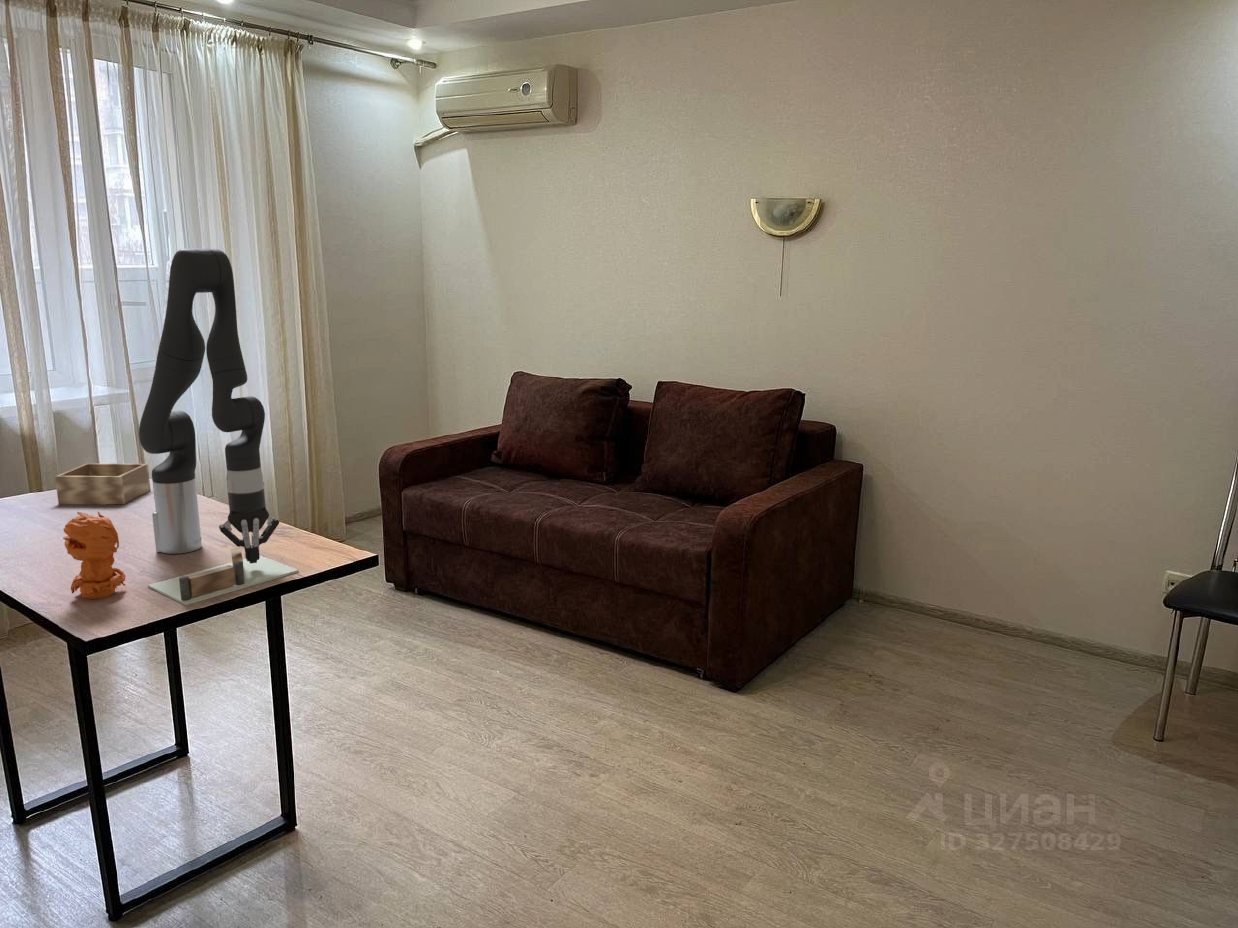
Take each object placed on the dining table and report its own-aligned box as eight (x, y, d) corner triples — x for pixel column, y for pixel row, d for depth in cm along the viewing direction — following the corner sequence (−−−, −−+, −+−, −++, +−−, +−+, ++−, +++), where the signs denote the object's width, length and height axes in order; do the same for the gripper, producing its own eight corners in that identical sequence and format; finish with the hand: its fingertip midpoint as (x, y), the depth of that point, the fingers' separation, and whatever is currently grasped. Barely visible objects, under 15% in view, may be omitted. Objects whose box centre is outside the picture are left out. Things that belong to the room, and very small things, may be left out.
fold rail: (244, 578, 201) (242, 561, 200) (234, 580, 200) (233, 562, 199) (242, 564, 210) (240, 547, 209) (232, 565, 209) (231, 548, 208)
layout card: (185, 605, 188) (185, 602, 188) (148, 587, 198) (147, 584, 198) (298, 571, 208) (298, 569, 208) (259, 556, 218) (259, 554, 218)
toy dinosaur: (83, 584, 199) (73, 504, 195) (136, 583, 200) (126, 503, 196) (57, 604, 188) (45, 519, 184) (113, 603, 189) (102, 518, 185)
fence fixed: (184, 603, 189) (182, 579, 188) (179, 601, 190) (177, 577, 189) (246, 585, 200) (244, 562, 198) (241, 583, 201) (239, 560, 200)
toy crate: (58, 504, 259) (54, 476, 258) (89, 489, 275) (86, 463, 273) (123, 504, 260) (120, 477, 258) (150, 490, 275) (147, 463, 273)
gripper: (274, 480, 210) (280, 553, 214) (211, 487, 204) (219, 562, 208) (280, 487, 204) (286, 562, 208) (215, 495, 198) (223, 572, 201)
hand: (252, 562), depth 208 cm, fingers closed
